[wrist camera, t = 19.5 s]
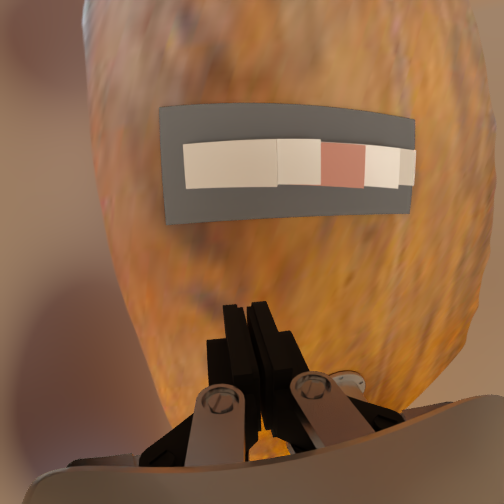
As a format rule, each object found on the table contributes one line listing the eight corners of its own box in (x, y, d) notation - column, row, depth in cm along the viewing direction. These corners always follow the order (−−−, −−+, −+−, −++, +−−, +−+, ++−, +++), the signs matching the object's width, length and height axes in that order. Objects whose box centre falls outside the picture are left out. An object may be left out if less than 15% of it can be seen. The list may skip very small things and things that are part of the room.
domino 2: (233, 182, 35) (319, 182, 33) (230, 185, 33) (320, 184, 32) (231, 140, 33) (319, 139, 31) (227, 140, 31) (320, 139, 30)
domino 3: (278, 182, 36) (361, 186, 34) (277, 184, 34) (363, 188, 32) (278, 141, 34) (363, 145, 32) (277, 141, 32) (365, 145, 31)
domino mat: (407, 212, 41) (409, 213, 40) (166, 223, 36) (166, 225, 35) (412, 119, 36) (415, 119, 35) (159, 108, 31) (159, 107, 30)
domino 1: (190, 186, 34) (278, 184, 32) (186, 188, 32) (277, 187, 31) (187, 143, 32) (277, 139, 31) (182, 144, 31) (275, 139, 29)
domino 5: (348, 181, 37) (407, 183, 38) (353, 183, 35) (413, 185, 37) (349, 143, 35) (409, 149, 37) (355, 143, 34) (416, 150, 35)
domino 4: (318, 181, 36) (394, 186, 34) (318, 183, 35) (398, 188, 33) (318, 141, 34) (396, 147, 33) (318, 141, 33) (400, 148, 31)
